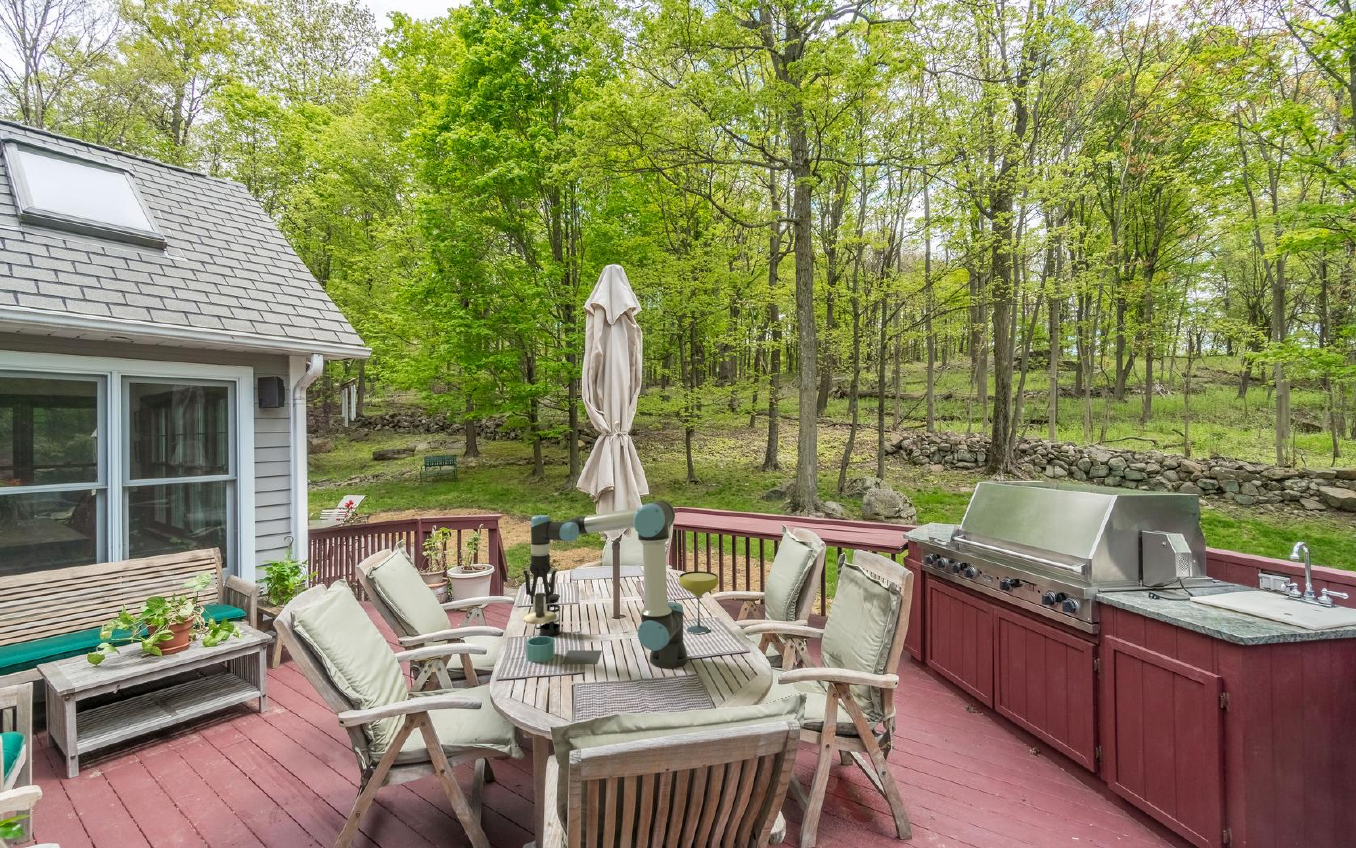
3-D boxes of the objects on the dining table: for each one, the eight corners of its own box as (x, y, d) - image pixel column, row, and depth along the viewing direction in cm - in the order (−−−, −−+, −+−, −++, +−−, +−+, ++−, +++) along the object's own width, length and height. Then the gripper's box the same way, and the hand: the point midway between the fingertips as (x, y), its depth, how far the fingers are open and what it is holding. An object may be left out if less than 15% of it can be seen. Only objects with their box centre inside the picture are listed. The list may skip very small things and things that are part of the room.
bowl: (556, 653, 241) (556, 636, 241) (550, 664, 230) (550, 646, 230) (530, 653, 241) (530, 636, 241) (523, 664, 230) (523, 646, 230)
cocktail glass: (674, 635, 262) (674, 579, 262) (684, 622, 279) (684, 570, 280) (713, 639, 257) (713, 582, 257) (721, 625, 275) (721, 572, 275)
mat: (601, 652, 243) (601, 650, 243) (597, 665, 229) (597, 664, 229) (568, 651, 243) (568, 650, 243) (561, 665, 229) (561, 664, 229)
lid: (559, 613, 242) (559, 589, 242) (552, 624, 229) (552, 598, 229) (528, 613, 243) (528, 589, 243) (519, 624, 230) (519, 598, 230)
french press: (560, 629, 270) (560, 579, 270) (563, 635, 261) (563, 584, 262) (534, 632, 266) (534, 581, 266) (536, 639, 257) (536, 587, 257)
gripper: (562, 552, 240) (562, 609, 240) (522, 551, 240) (522, 608, 240) (558, 556, 232) (558, 615, 232) (517, 555, 232) (517, 614, 232)
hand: (540, 611), depth 236 cm, fingers closed on lid, 3 cm apart
